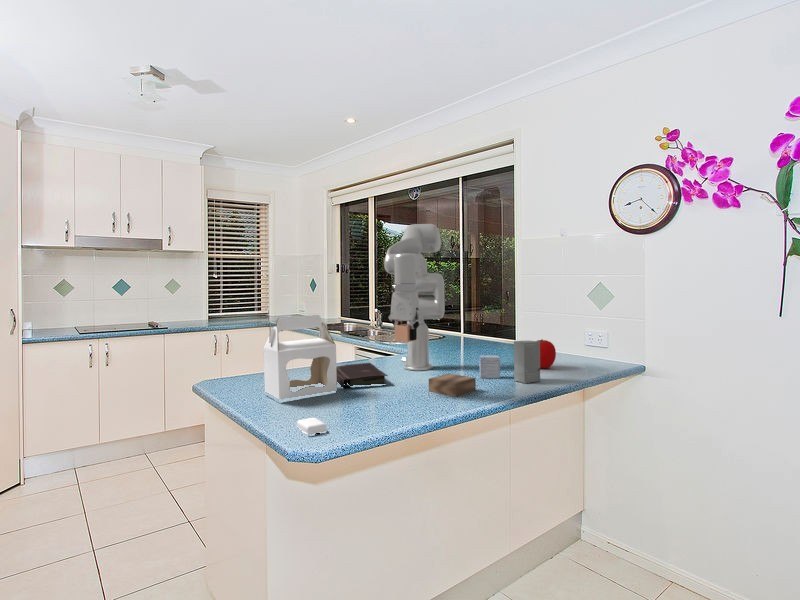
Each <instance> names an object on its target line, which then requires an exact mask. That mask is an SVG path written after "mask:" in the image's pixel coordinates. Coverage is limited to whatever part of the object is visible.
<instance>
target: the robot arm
mask: <svg viewBox="0 0 800 600" xmlns="http://www.w3.org/2000/svg"><path fill="white" fill-rule="evenodd" d="M441 247H442V239H441V234H440V231H439V228H438V227H437V225H435V224H433V223H420V224H419V223H413V224H409V225H407V226H406V227H405V229H404V230H403V234H402V237H401V238H400V241H397V242H396V243H394V244H392V245H390V246H389V247H388V249H387V250H386V254H385V257H384V262H383V263H384V264H383V265H384V266H383V267H384V270H385V272H386V273H388V274H390V275H394V284H393V285H392V289H394V292H392V295H391V303H390V314H389V315H388V320H389V321H390V322H391V324H392V325H393V328H394V329H395V325H401V324H403V322H406V324H410V326H411V329H410V340H411V342H407V356H406V357H405V356H403V357H402V359H401V362H402V363H405V364H404V366H403V367H404V369H405V370H409V371H428V370H432V369H433V365H432V364H431V363H430V356H429V355H430V342H429V341H430V339H429V338H430V337H429V335H430V334H429V333H430V331H429V327H428V325H427V324H426V323H425V320H440V319H443V317H444V316H445V309H446V307H445V304H446V303H445V281H444V280H445V279H444V277H443V275H442V274H440V273H438V272H433V273H432V272H430V273H429V272H428V261H427V260H426V258H425V257H424V255H423V254H425V253H427V254H428V253H437V252H439V251H440V250H441ZM422 253H423V254H422ZM419 295H424V296H425V295H427V296H428V295H432V296H434V297H419ZM416 337H417V340H416ZM412 340H415V341H412Z"/></svg>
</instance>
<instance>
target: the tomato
mask: <svg viewBox="0 0 800 600" xmlns="http://www.w3.org/2000/svg"><path fill="white" fill-rule="evenodd" d="M536 341H539V342H540V369H548V368H550V367H552V366H553V364H554V363H555V360H556V357H557V351H556V347H555V345H554V344H553V343H552V342H551V341H550V340H547V339H544V340H543V339H542V338H541V339H538V340H536Z"/></svg>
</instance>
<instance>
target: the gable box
mask: <svg viewBox="0 0 800 600" xmlns="http://www.w3.org/2000/svg"><path fill="white" fill-rule="evenodd" d="M275 323H276V326H273V327H270V328H269V336H268V337H267V339H266V341H265V344H264V346H263V370H264V371H263V372H264V373H263V374H264V376H263V378H264V379H263V380H264V393H265V392H267V393H269V394H271V395H273V396H274V397H276V398H278V399H285V398H292V397H298V396H305V395H312V394H317V393H323V392H331V391H337V392H338V384H337V371H336V366H337V344H336V343H335V341H334V339H333V338H332V335H331V334H330V332H329V330H328V323H327V322H322V318H321V316H320V315H319V314H315V315H312V314H311V315H302V316H301V315H299V316H289V317H288V316H286V317H285V316H284V317H278V318H277V319H276V320H275ZM307 329H309V330H310V329H318V330H319V331H318V334H319V335H318V337H317V338H309V339H308V338H307V339H299V340H298V339H295V340H287V341H279V333H280V332H284V331H295V330H307ZM297 359H300V360H301V359H303V360H309V359H310V360H312V362H311V365H310V369H309V370H310V378H309V379H307V380H302V379H292V380H290V376H289V373H288V371H287V365H288V363H289V362H290V361H293V360H297ZM318 383H321V384H323V385H325V386H323V387H315V386H309V387H305V388H302V389H300V390H298V391H296V392H292V391H290V387H297V386H304V385H311V384H318Z"/></svg>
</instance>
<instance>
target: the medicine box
mask: <svg viewBox="0 0 800 600" xmlns="http://www.w3.org/2000/svg"><path fill="white" fill-rule="evenodd" d="M500 368H501V357H500V356H499V355H479V379H500V378H501V369H500Z"/></svg>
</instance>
